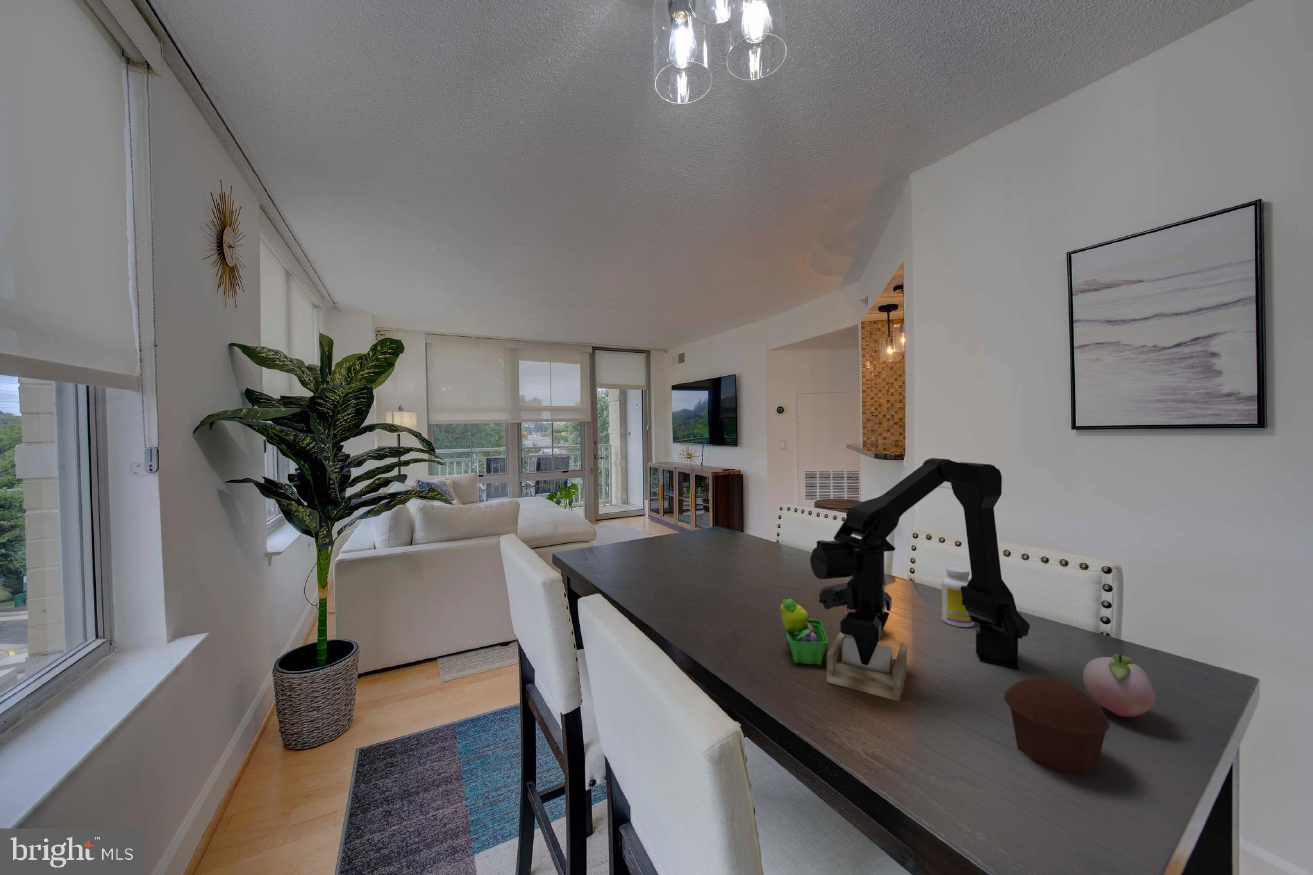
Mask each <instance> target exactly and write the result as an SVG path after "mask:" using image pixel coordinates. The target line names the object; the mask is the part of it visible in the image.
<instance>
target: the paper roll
mask: <svg viewBox="0 0 1313 875" xmlns="http://www.w3.org/2000/svg"><path fill="white" fill-rule="evenodd" d="M893 659H894V658H893V647H892V646H887V645H882V644H879V643H878V644H877V646H876V648H875V650H874V653H873V655H872V657H871V659H870V662H869V664H868V665H863V664H862V663H861V660H860V656H859V653H858V649H857V646H856V642H855V639H854V638H849V637H848V638H847V637H846V638H845V639H844V642H843V649H842V662H843V664H846V665H850V666H854V667H858V668H862V669H867V670H871V671H875V672H879V673H883V674H887V675H891V674H892V664H893Z"/></svg>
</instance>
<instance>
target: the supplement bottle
mask: <svg viewBox="0 0 1313 875" xmlns="http://www.w3.org/2000/svg"><path fill="white" fill-rule="evenodd" d="M945 573H946V575H947V576H946V577H943V578H942V580H941V620H942V621H943V622H944V623H946V624H948V625H950V626H953V627H959V628H970V627H973V626H974V625H975V622H972V621H971V619H970V616H969V613H968V612H967V611H966V609H965V606H964V605H962V593H961V586H967V584H968V582H969V581H970V579H969V577H970V570H969V569H968V568H966V567H960V566H953V565H952V566H947V567H946V569H945Z"/></svg>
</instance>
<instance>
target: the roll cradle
mask: <svg viewBox="0 0 1313 875" xmlns="http://www.w3.org/2000/svg"><path fill="white" fill-rule="evenodd" d="M845 638H847V635H846V634H842V633H841V632H840V631H839V632H838V635H837V636H836V638H835V639H834V641H833V643H832V644H831V646H830V648H829V649H828V652H827V653H826V682H827V683H829V684H833V685H837V686H840V687H843V688H848V689H851V690H856V691H859V692H864V693H867V694H870V695H873V696H878V697H881V698H885V699H889V700H892V701H897V702H901V697H902V693H903V689H904V684H905V680H906V677H907V668H908V667H907V666H908V665H907V662H908V659H907V656H908V654H907V652H908V649H907V648H908V647H907V646H908V644H907V643H902V642H901V643H900V645H899V648H898V652H897V655H896V657H895V658H893V664H892V674H891V675H887V674H883V673H879V672H875V671H871V670H867V669H862V668H858V667H854V666H850V665H846V664H843V662H842V649H843V642H844V639H845Z"/></svg>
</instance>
